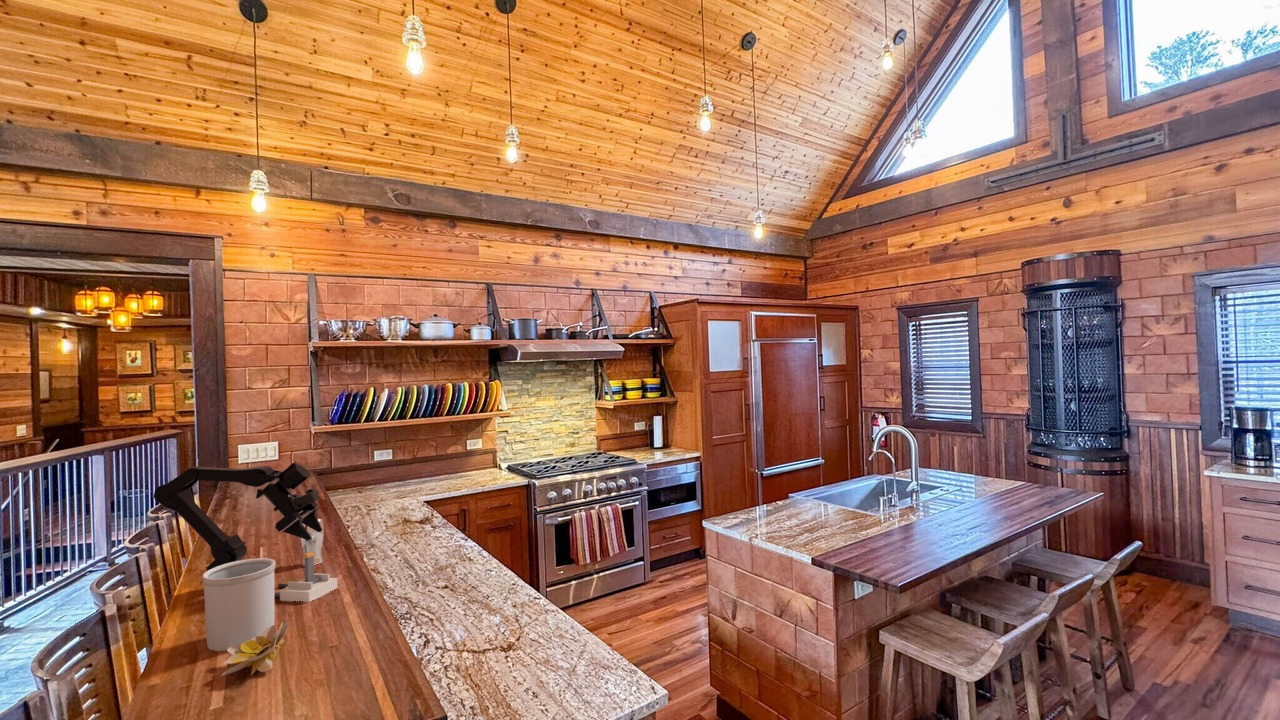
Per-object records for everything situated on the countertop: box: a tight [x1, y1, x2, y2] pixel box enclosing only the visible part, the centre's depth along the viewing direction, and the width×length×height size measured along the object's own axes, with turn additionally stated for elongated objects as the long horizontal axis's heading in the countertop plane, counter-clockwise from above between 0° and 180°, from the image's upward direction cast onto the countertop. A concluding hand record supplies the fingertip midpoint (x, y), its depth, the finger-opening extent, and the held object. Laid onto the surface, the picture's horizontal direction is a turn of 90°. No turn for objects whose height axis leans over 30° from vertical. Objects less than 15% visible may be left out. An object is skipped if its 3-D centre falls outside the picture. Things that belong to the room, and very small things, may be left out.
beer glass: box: [300, 518, 325, 566], centre depth 194 cm, size 7×7×15 cm
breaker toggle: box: [302, 552, 320, 583], centre depth 165 cm, size 3×5×9 cm, turn 168°
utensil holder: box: [201, 557, 277, 652], centre depth 138 cm, size 15×15×18 cm
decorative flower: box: [221, 619, 290, 677], centre depth 124 cm, size 15×11×10 cm
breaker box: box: [274, 572, 338, 603], centre depth 166 cm, size 19×11×5 cm, turn 78°
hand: (315, 535), depth 177 cm, fingers open, 9 cm apart
